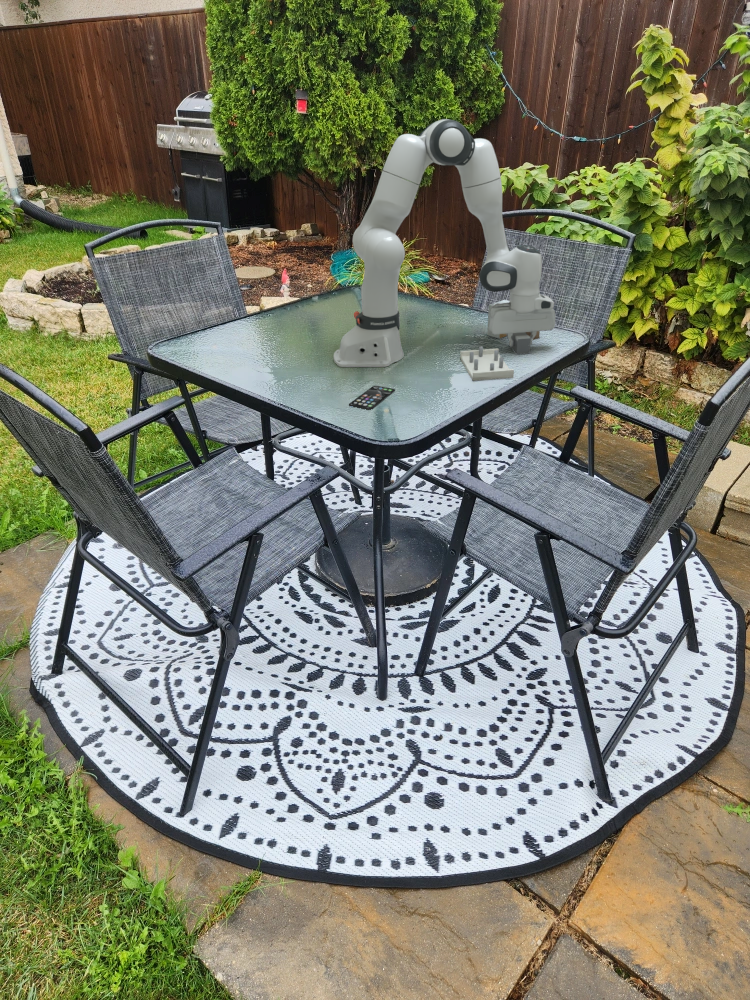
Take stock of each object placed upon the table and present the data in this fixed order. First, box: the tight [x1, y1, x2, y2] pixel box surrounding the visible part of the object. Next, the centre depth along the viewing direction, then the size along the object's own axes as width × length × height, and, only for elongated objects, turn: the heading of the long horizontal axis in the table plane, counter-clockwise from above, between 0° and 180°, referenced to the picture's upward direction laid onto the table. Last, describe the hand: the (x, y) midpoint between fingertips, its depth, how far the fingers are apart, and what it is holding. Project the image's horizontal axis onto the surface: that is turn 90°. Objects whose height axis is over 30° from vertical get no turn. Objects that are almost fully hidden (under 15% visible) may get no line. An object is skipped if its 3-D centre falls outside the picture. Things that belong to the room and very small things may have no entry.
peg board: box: [459, 345, 515, 382], centre depth 201 cm, size 12×18×4 cm, turn 6°
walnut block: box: [525, 331, 541, 341], centre depth 221 cm, size 5×5×5 cm
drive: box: [509, 332, 531, 355], centre depth 212 cm, size 4×8×5 cm, turn 6°
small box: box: [486, 299, 509, 340], centre depth 223 cm, size 8×6×10 cm
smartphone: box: [348, 385, 396, 411], centre depth 187 cm, size 7×1×15 cm
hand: (520, 345), depth 212 cm, fingers closed on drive, 4 cm apart
